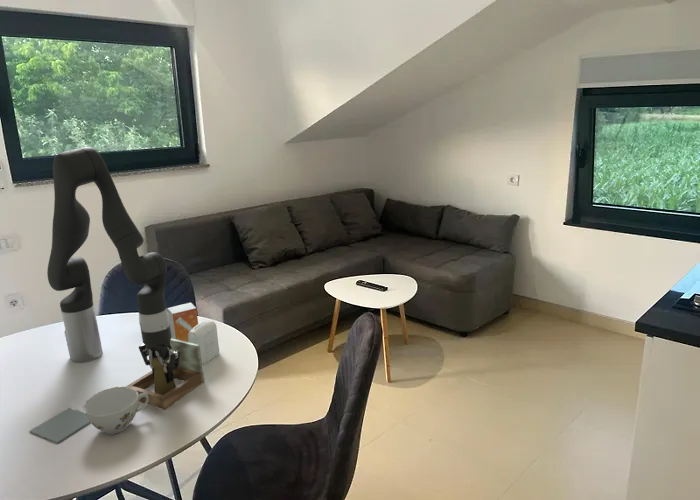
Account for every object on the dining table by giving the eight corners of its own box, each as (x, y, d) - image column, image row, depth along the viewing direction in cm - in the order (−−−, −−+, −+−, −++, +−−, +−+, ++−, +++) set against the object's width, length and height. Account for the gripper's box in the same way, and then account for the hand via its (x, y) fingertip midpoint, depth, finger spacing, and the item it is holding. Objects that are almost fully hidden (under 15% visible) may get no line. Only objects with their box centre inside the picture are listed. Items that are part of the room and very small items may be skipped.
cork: (149, 394, 146) (143, 359, 142) (164, 383, 151) (159, 349, 148) (166, 398, 143) (161, 362, 140) (181, 386, 149) (176, 352, 145)
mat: (29, 432, 131) (29, 430, 130) (69, 408, 140) (69, 407, 140) (57, 443, 126) (57, 442, 126) (96, 418, 135) (96, 417, 135)
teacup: (94, 449, 123) (88, 421, 121) (84, 424, 133) (79, 397, 130) (158, 425, 131) (153, 398, 129) (145, 403, 141) (140, 377, 139)
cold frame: (127, 397, 144) (120, 359, 141) (168, 372, 157) (162, 336, 154) (165, 410, 138) (158, 370, 134) (204, 382, 151) (199, 344, 147)
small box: (177, 350, 171) (171, 313, 167) (171, 343, 176) (166, 307, 172) (201, 343, 175) (196, 307, 171) (195, 336, 180) (190, 301, 176)
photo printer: (211, 350, 169) (206, 316, 166) (221, 353, 168) (217, 318, 164) (189, 365, 161) (184, 329, 157) (200, 368, 159) (195, 331, 155)
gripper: (125, 326, 141) (135, 381, 146) (163, 335, 135) (172, 393, 140) (147, 315, 148) (155, 369, 153) (184, 324, 141) (192, 379, 146)
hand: (163, 380), depth 146 cm, fingers closed on cork, 4 cm apart
